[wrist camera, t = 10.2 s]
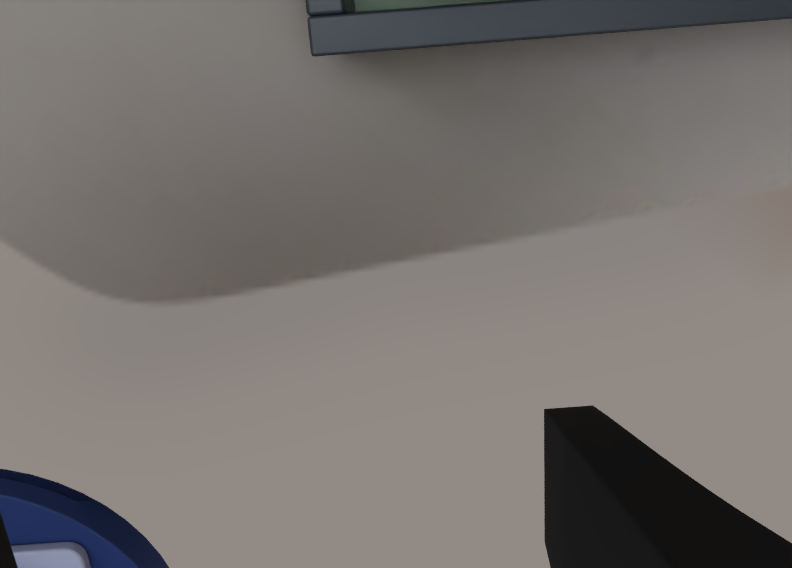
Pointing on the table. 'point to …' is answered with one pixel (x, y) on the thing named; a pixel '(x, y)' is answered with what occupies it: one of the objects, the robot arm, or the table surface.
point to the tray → (509, 20)
